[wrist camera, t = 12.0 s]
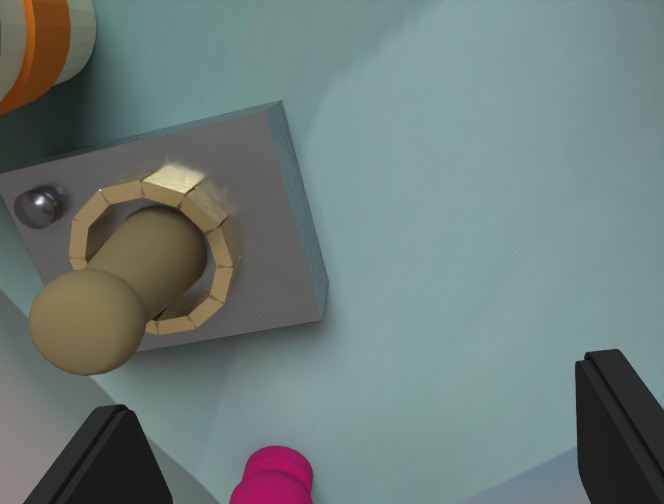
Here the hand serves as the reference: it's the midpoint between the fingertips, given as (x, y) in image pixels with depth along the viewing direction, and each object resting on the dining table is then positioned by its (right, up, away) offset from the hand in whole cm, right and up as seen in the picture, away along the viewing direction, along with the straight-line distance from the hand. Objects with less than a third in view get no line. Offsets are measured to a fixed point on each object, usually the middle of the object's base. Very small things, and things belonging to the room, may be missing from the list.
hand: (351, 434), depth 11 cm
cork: (-11, +4, +23) cm, 26 cm away
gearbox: (-11, +6, +28) cm, 31 cm away
